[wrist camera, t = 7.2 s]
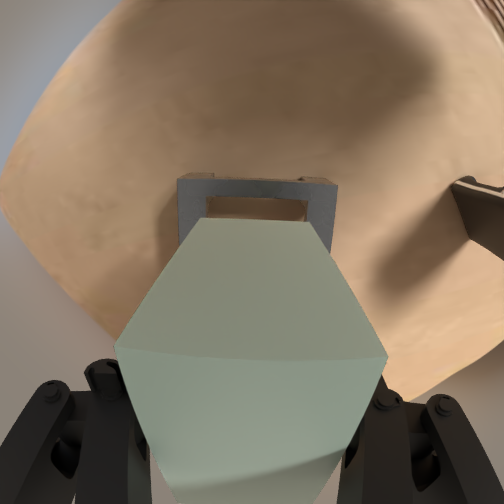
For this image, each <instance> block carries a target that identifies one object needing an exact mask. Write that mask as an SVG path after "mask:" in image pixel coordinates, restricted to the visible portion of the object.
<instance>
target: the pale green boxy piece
mask: <svg viewBox="0 0 504 504" xmlns="http://www.w3.org/2000/svg"><path fill="white" fill-rule="evenodd" d="M114 350H115V354H116V357H117V360H118V364H119V367H120V370H121V373H122V376H123V379H124V382H125V385H126V388H127V391H128V394H129V397H130V400H131V403H132V405H133V408H134V411H135V413H136V416H137V418H138V421H139V423H140V426H141V428H142V431H143V433H144V436H145V438H146V440H147V443H148V445H149V447H150V449H151V451H152V454H153V456H154V458H155V460H156V462H157V464H158V466H159V468H160V471H161V472H162V475H163V476H164V478H165V480H166V482H167V484H168V486H169V488H170V490H171V492H172V494H173V495H174V497H175V499H176V501H177V503H181V504H313V502H314V501H315V499H316V498H317V496H318V495H319V493H320V492H321V490H322V489H323V487H324V486H325V484H326V483H327V481H328V479H329V478H330V476H331V474H332V473H333V471H334V469H335V468H336V466H337V464H338V462H339V461H340V459H341V457H342V456H343V454H344V452H345V450H346V448H347V447H348V445H349V443H350V441H351V439H352V437H353V435H354V433H355V431H356V429H357V427H358V425H359V423H360V421H361V419H362V417H363V415H364V413H365V411H366V409H367V407H368V404H369V402H370V400H371V398H372V396H373V393H374V391H375V389H376V386H377V384H378V381H379V379H380V377H381V374H382V372H383V369H384V367H385V364H386V361H387V359H388V355H387V353H386V351H385V349H384V347H383V345H382V343H381V342H380V340H379V338H378V336H377V334H376V332H375V331H374V329H373V327H372V325H371V323H370V322H369V320H368V318H367V316H366V314H365V313H364V311H363V309H362V307H361V306H360V304H359V302H358V300H357V299H356V297H355V295H354V294H353V292H352V290H351V288H350V287H349V285H348V283H347V282H346V280H345V278H344V277H343V275H342V273H341V272H340V270H339V268H338V267H337V265H336V263H335V262H334V260H333V259H332V257H331V255H330V254H329V252H328V250H327V249H326V247H325V246H324V244H323V242H322V241H321V239H320V238H319V236H318V235H317V233H316V231H315V230H314V228H313V227H312V225H311V224H310V222H300V221H279V220H256V219H229V218H200V219H199V220H198V222H197V223H196V224H195V226H194V227H193V228H192V230H191V231H190V233H189V234H188V235H187V237H186V238H185V240H184V241H183V242H182V244H181V245H180V246H179V248H178V249H177V251H176V252H175V254H174V255H173V256H172V258H171V259H170V261H169V262H168V264H167V265H166V266H165V268H164V269H163V271H162V272H161V274H160V275H159V277H158V278H157V280H156V281H155V282H154V284H153V285H152V287H151V288H150V290H149V291H148V293H147V294H146V296H145V297H144V299H143V300H142V302H141V303H140V305H139V307H138V308H137V310H136V311H135V313H134V314H133V316H132V317H131V319H130V320H129V322H128V324H127V325H126V327H125V328H124V330H123V331H122V333H121V335H120V336H119V338H118V339H117V341H116V343H115V345H114Z"/></svg>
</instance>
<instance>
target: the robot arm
mask: <svg viewBox="0 0 504 504" xmlns="http://www.w3.org/2000/svg"><path fill="white" fill-rule="evenodd" d="M84 374H85V376H86V379H87V382H88V384H89V386H90V389H91V391H70V389H69V387H68V386H67V385H66V383H64V382H62V381H58V380H51V381H48V382H45V383H43V384H42V385H41V386H40V387H39V388H38V389H37V390H36V392H35V393H34V394H33V396H32V397H31V399H30V400H29V402H28V403H27V405H26V406H25V408H24V409H23V411H22V412H21V414H20V415H19V417H18V419H17V420H16V422H15V423H14V425H13V426H12V428H11V430H10V431H9V433H8V435H7V436H6V438H5V440H4V441H3V443H2V445H1V446H0V504H72V501H73V498H74V496H75V504H152V497H151V496H152V495H151V478H150V447H149V445H148V443H147V440H146V438H145V436H144V433H143V431H142V428H141V426H140V423H139V421H138V418H137V416H136V413H135V411H134V408H133V405H132V403H131V400H130V397H129V394H128V391H127V388H126V385H125V382H124V379H123V376H122V373H121V370H120V367H119V364H118V361H117V360H114V359H101V360H98V361H95V362H93V363H91V364H90V365H89V366H88V367H87V368H86V370H85V371H84ZM75 493H76V495H75ZM337 504H504V491H503V489H502V486H501V484H500V482H499V479H498V477H497V475H496V473H495V471H494V469H493V467H492V465H491V463H490V460H489V458H488V456H487V454H486V452H485V450H484V449H483V447H482V445H481V443H480V441H479V439H478V437H477V435H476V433H475V431H474V430H473V428H472V426H471V424H470V422H469V421H468V419H467V417H466V415H465V413H464V412H463V410H462V408H461V406H460V405H459V403H458V402H457V401H456V400H455V399H454V398H452V397H451V396H448V395H445V394H436V395H434V396H432V397H431V398H430V399H429V400H428V401H427V403H426V404H418V403H410V402H405V401H403V399H402V397H401V396H400V395H399V394H398V393H397V392H395V391H393V390H391V389H388V387H387V385H386V383H385V381H384V378H383V376H382V374H381V377H380V379H379V381H378V384H377V386H376V389H375V391H374V393H373V396H372V398H371V400H370V402H369V404H368V407H367V409H366V411H365V413H364V415H363V417H362V419H361V421H360V423H359V425H358V427H357V429H356V431H355V433H354V435H353V437H352V439H351V441H350V443H349V445H348V447H347V448H346V450H345V452H344V454H343V456H342V463H341V473H340V482H339V490H338V497H337Z"/></svg>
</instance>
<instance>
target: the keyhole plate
mask: <svg viewBox="0 0 504 504" xmlns="http://www.w3.org/2000/svg"><path fill="white" fill-rule="evenodd" d="M337 189H338V185H336V184H335V183H333V182H331V181H329V180H327V179H324V178H312V177H302V179H301V181H297V180H281V179H260V178H230V177H214V173H189V174H186V175H184V176H182V177H180V178H178V179H177V191H178V227H179V246H180V245H181V244H182V242H183V241H184V240H185V238H186V237H187V235H188V234H189V233H190V231H191V230H192V228H193V227H194V226H195V224H196V223H197V222H198V220H199V219H200V218H208V204H209V203H210V201H211V200H212V199H213V198H214V196H224V197H254V198H276V199H295V200H300V202H301V203H302V205H303V206H304V208H305V216H304V222H310V224H311V225H312V227H313V228H314V230H315V231H316V233H317V235H318V236H319V238H320V239H321V241H322V242H323V244H324V246H325V247H326V249H327V250H328V252H329V254H330V251H331V243H332V235H333V227H334V219H335V209H336V200H337Z"/></svg>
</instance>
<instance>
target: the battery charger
mask: <svg viewBox="0 0 504 504" xmlns="http://www.w3.org/2000/svg"><path fill="white" fill-rule="evenodd" d="M452 191H453V194H454V197H455V199H456V202H457V204H458V207H459V210H460V213H461V215H462V218H463V221H464V224H465V226H466V229H467V232H468V235H469V238H470V239H471V240H473V241H475V242H476V243H478V244H480V245H481V246H483V247H485V248H486V249H488V250H489V251H491V252H492V253H493V254H495V255H496V256H498V257H499V258H501V259H502V260H503V261H504V187H503V188H502V187H499V188H497V187H493V186H489V185H484V184H480V183H477V182H476V180H475V178H474V177H472V176H465V177H463V178H461V179H460V180H459V181H456V182H455V183H454V185H453V186H452Z"/></svg>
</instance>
